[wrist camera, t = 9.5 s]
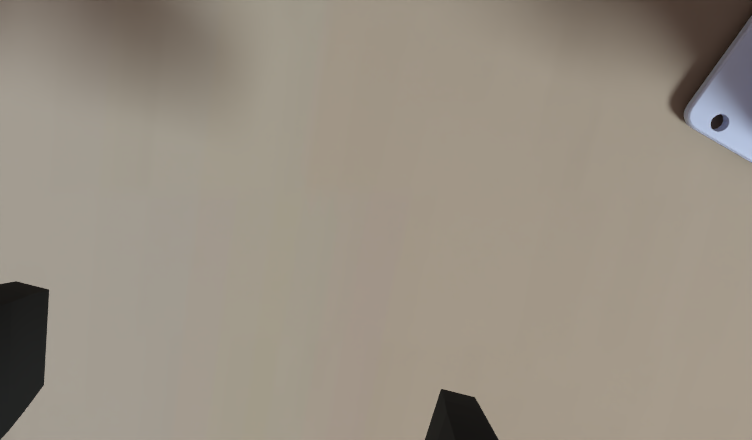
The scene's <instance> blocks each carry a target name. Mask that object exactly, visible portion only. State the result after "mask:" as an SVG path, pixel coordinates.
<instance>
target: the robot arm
mask: <svg viewBox="0 0 752 440" xmlns="http://www.w3.org/2000/svg"><path fill="white" fill-rule="evenodd" d="M719 114H721V115H722V116H723V122H722V125H721V126H720V127H718V128H717V129H712V128H711V121H712V118H714V117H715V116H716V115H719ZM684 119H685V122H686V124H687V125H688V126H690V127H691V128H692V129H694V130H696V131H698V132H699V133H701V134H703V135H705V136H706V137H708V138H710V139H711V140H713V141H715V142H717V143H718V144H720V145H722V146H724V147H725V148H727V149H729V150H730V151H732V152H734V153H736V154H737V155H739V156H741V157H743V158H744V159H746V160H748V161H749V162H751V163H752V16H751V17H750V19H749V20H748V21H747V23H746V24H745V25H744V27H743V28H742V30H741V31H740V32H739V34H738V35H737V37H736V38H735V39H734V41H733V42H732V43H731V45H730V46H729V48H728V49H727V50H726V52H725V53H724V55H723V56H722V57H721V59H720V60H719V62H718V63H717V64H716V66H715V67H714V68H713V70H712V71H711V73H710V74H709V75H708V77H707V78H706V80H705V81H704V82H703V84H702V85H701V86H700V88H699V89H698V91H697V92H696V93H695V95H694V96H693V98H692V99H691V100H690V102H689V103H688V105H687V106H686V108H685V111H684ZM48 299H49V290H48V289H44V288H40V287H36V286H32V285H28V284H24V283H20V282H10V283H5V284H0V439H1V438H2V437H3V436H4V435H5V434H6V433H7V432H8V431H9V430H10V428H11V427H12V426H13V425H14V423H15V422H16V421H17V420H18V418H19V417H20V416H21V415H22V413H23V412H24V411H25V409H26V408H27V407H28V405H29V404H30V403H31V401H32V400H33V399H34V397H35V396H36V395H37V393H38V392H39V391H40V389H41V388H42V387H43V385H44V371H45V353H46V335H47V317H48ZM425 440H498V438H497V436H496V434H495V433H494V431H493V429H492V427H491V425H490V424H489V422H488V420H487V418H486V416H485V415H484V413H483V411H482V409H481V408H480V406H479V404H478V402H477V401H476V399H475V397H471V396H467V395H463V394H459V393H455V392H451V391H447V390H443V389H441V391H440V394H439V397H438V401H437V404H436V407H435V410H434V413H433V416H432V419H431V422H430V426H429V429H428V432H427V435H426V438H425Z"/></svg>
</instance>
